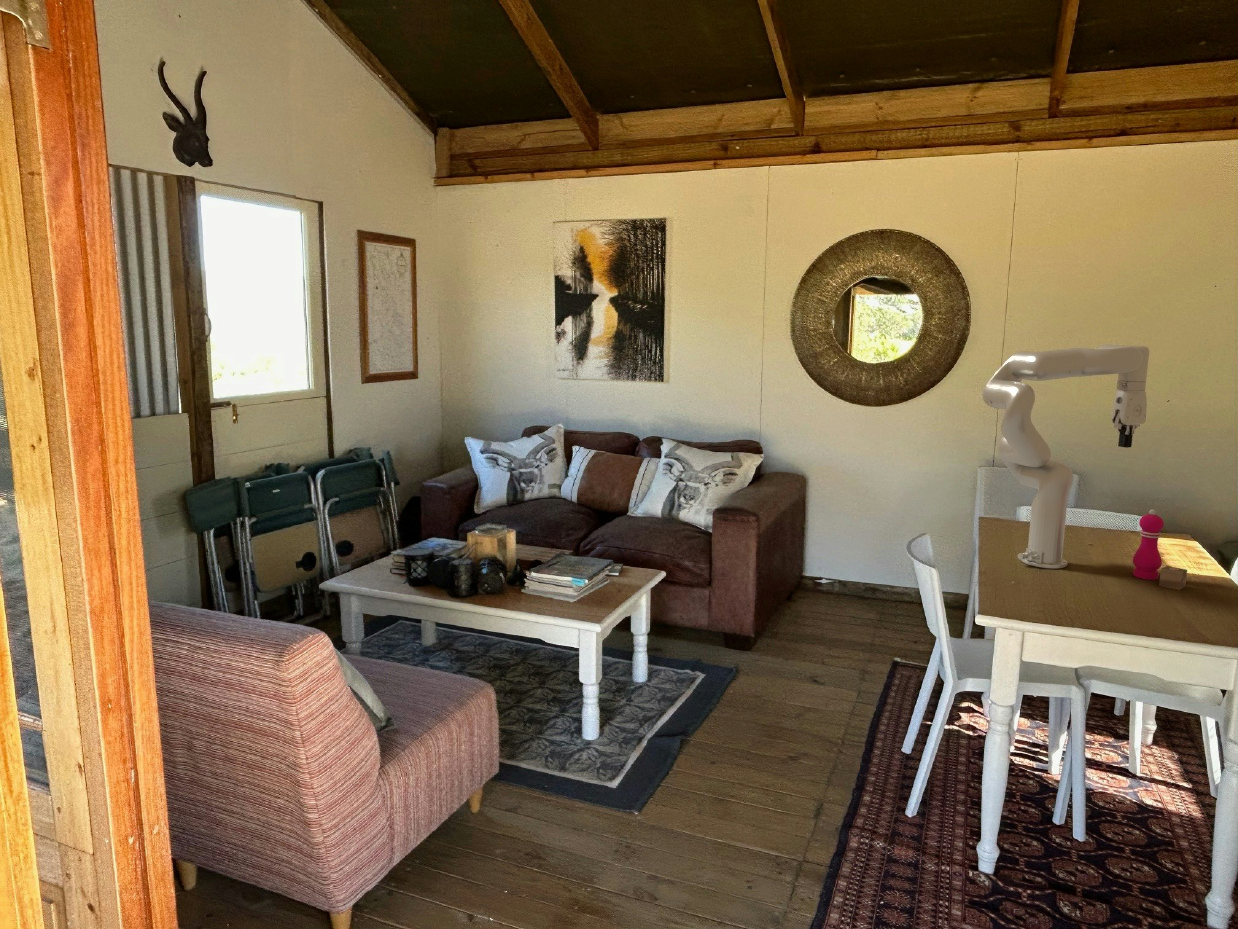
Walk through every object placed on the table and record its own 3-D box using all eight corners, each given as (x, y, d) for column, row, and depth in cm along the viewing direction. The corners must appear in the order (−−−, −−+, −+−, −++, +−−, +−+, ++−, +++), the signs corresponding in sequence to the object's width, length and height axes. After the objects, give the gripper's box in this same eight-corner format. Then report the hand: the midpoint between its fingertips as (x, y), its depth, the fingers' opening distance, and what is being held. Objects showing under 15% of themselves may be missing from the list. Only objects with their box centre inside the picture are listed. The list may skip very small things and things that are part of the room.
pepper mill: (1164, 581, 248) (1172, 512, 244) (1136, 579, 249) (1144, 511, 246) (1154, 573, 255) (1161, 507, 251) (1127, 572, 256) (1134, 506, 253)
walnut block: (1179, 590, 240) (1181, 572, 239) (1159, 586, 244) (1161, 568, 243) (1185, 586, 243) (1187, 569, 242) (1165, 582, 247) (1167, 565, 246)
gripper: (1126, 388, 256) (1120, 450, 259) (1158, 387, 262) (1152, 447, 265) (1103, 386, 262) (1097, 446, 266) (1135, 385, 269) (1128, 443, 272)
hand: (1124, 446), depth 265 cm, fingers closed
